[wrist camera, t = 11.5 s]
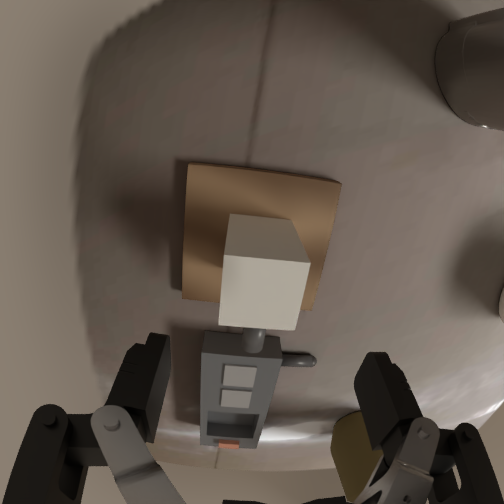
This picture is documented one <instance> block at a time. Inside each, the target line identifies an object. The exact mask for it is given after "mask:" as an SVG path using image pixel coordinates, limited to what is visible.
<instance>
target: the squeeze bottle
mask: <svg viewBox="0 0 504 504" xmlns="http://www.w3.org/2000/svg"><path fill="white" fill-rule="evenodd" d="M330 449H331V454H332V457H333V460H334V463H335V466H336V469H337V471H338V474H339V477H340V480H341V483H342V486H343V489H344V492H345V495H346V498H347V501H350V502H352V503H353V502H354V501H355V500H356V498H357V497H358V496H359V495H360V494H361V493H362V491H363V490H364V488H365V486H366V485H367V483H368V481H369V479H370V477H371V475H372V473H373V471H374V469H375V467H376V465H377V463H378V461H379V459H380V457H381V456H382V455H383V451H382V450H375V451H372V448H371V444H370V441H369V437H368V433H367V430H366V426H365V423H364V419H363V416H362V413H361V412H356V413H352V414H349V415H347V416H345V417H343V418H341V419H340V420H339V421H338V422H336V424H335V426H334V429H333V435H332V441H331V447H330Z"/></svg>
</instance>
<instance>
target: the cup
mask: <svg viewBox="0 0 504 504" xmlns="http://www.w3.org/2000/svg"><path fill="white" fill-rule="evenodd" d="M499 315H500V318H501V320H502V321H503V323H504V288H503V290H502V293H501V297H500V301H499Z"/></svg>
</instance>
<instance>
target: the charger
mask: <svg viewBox="0 0 504 504" xmlns="http://www.w3.org/2000/svg"><path fill="white" fill-rule="evenodd" d="M310 264H311V263H310V260H309V258H308V256H307V253H306V251H305V249H304V247H303V244H302V242H301V240H300V238H299V235H298V233H297V231H296V229H295V226H294V224H293V222H292V220H287V219H278V218H269V217H259V216H250V215H240V214H230V217H229V223H228V230H227V237H226V244H225V251H224V260H223V272H222V284H221V297H220V311H219V325H224V326H235V327H244V329H243V336H242V344H241V346H242V349H243V350H244V351H246V352H248V353H258V352H260V351H261V350H262V348H263V343H264V338H265V333H266V329H277V330H295V327H296V324H297V320H298V315H299V311H300V307H301V303H302V299H303V295H304V290H305V286H306V282H307V277H308V273H309V268H310Z"/></svg>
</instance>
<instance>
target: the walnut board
mask: <svg viewBox="0 0 504 504" xmlns="http://www.w3.org/2000/svg"><path fill="white" fill-rule="evenodd" d="M341 185H342V184H341V183H340V182H338V181H334V180H328V179H322V178H316V177H310V176H304V175H297V174H291V173H284V172H276V171H269V170H261V169H253V168H245V167H236V166H226V165H216V164H205V163H193V162H190V163H189V164H188V172H187V186H186V201H185V218H184V239H183V270H182V299H190V300H198V301H207V302H216V303H220V297H221V284H222V272H223V260H224V251H225V244H226V237H227V230H228V223H229V217H230V214H240V215H250V216H259V217H269V218H278V219H287V220H292V222H293V224H294V226H295V229H296V231H297V233H298V235H299V238H300V240H301V242H302V244H303V247H304V249H305V251H306V253H307V256H308V258H309V260H310V263H311V264H310V268H309V273H308V277H307V282H306V286H305V290H304V295H303V299H302V303H301V307H300V310H309V311H312V307H313V304H314V300H315V296H316V293H317V289H318V285H319V281H320V277H321V273H322V269H323V265H324V261H325V257H326V253H327V249H328V245H329V241H330V236H331V232H332V228H333V223H334V219H335V214H336V210H337V205H338V200H339V195H340V190H341Z"/></svg>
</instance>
